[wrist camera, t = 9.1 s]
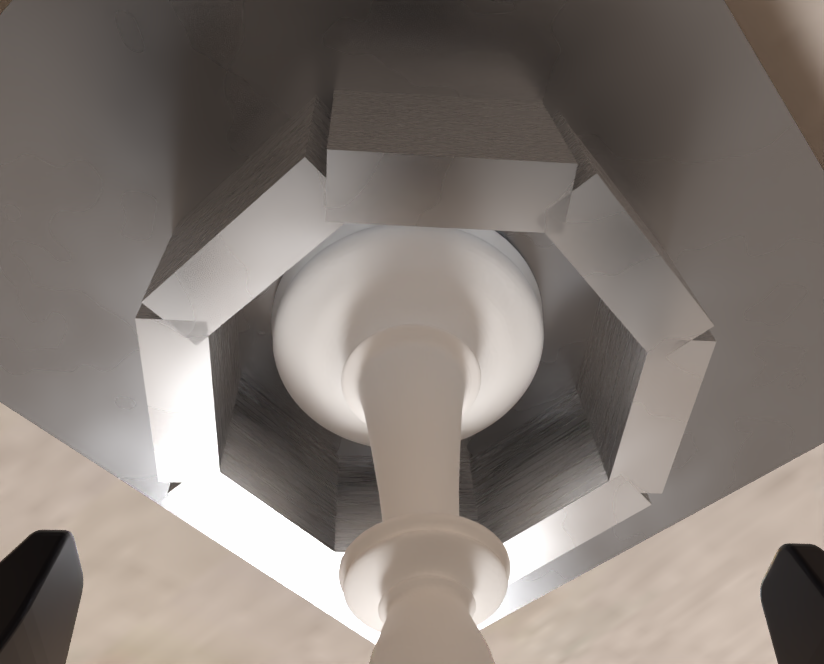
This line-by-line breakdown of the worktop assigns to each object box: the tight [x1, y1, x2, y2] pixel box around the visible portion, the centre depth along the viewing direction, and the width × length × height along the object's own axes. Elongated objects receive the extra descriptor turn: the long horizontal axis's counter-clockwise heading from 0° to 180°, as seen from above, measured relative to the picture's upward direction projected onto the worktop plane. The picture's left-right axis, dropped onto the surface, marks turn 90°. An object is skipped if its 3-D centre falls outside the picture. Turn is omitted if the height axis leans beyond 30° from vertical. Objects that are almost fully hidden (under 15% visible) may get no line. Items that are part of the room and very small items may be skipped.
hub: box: [0, 0, 824, 644], centre depth 14 cm, size 16×14×4 cm
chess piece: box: [271, 223, 544, 664], centre depth 10 cm, size 5×5×10 cm
